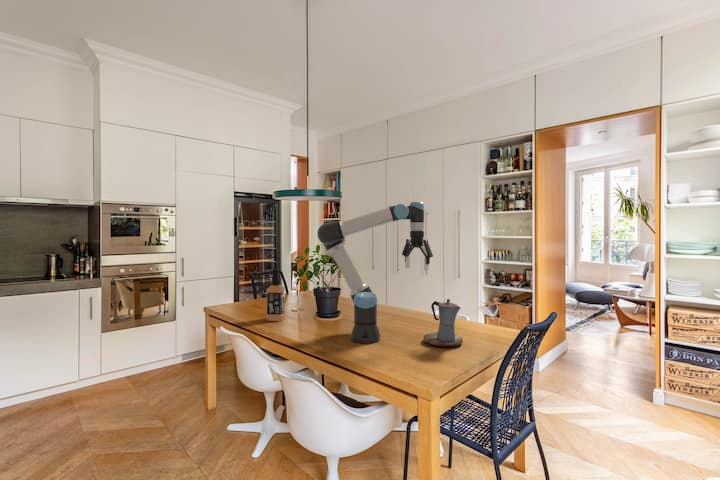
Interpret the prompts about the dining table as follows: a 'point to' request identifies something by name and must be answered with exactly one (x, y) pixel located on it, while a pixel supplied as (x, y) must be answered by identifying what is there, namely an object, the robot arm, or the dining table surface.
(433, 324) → the dining table surface
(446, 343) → the disc
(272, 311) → the whiskey bottle
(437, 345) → the turntable base
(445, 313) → the moka pot
